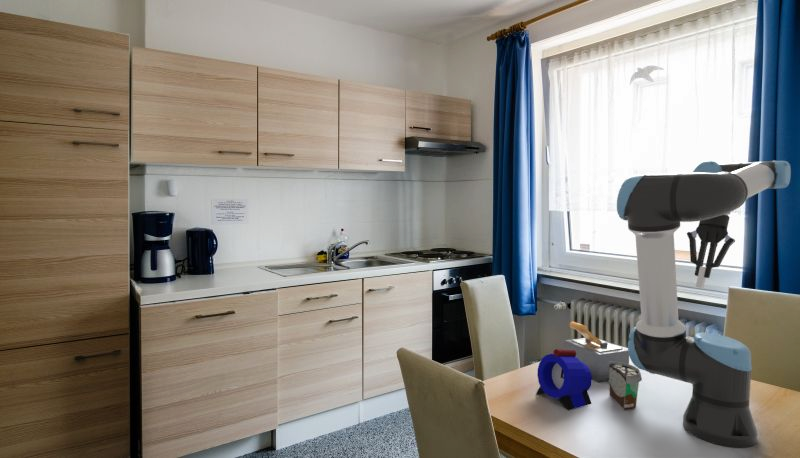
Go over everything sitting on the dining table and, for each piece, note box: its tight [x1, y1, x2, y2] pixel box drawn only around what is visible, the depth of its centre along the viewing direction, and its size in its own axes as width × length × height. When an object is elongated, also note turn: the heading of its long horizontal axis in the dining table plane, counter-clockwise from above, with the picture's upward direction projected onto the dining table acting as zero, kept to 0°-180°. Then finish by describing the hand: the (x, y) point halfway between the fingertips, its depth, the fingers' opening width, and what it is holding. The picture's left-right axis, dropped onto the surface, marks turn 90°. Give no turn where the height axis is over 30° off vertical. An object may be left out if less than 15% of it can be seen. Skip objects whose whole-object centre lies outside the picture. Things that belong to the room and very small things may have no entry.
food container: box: [608, 361, 642, 411], centre depth 133 cm, size 12×6×10 cm, turn 179°
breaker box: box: [564, 337, 630, 384], centre depth 157 cm, size 12×16×11 cm
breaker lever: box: [569, 321, 601, 345], centre depth 155 cm, size 2×6×10 cm
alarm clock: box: [535, 348, 593, 411], centre depth 136 cm, size 12×12×15 cm
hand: (699, 287), depth 148 cm, fingers closed
